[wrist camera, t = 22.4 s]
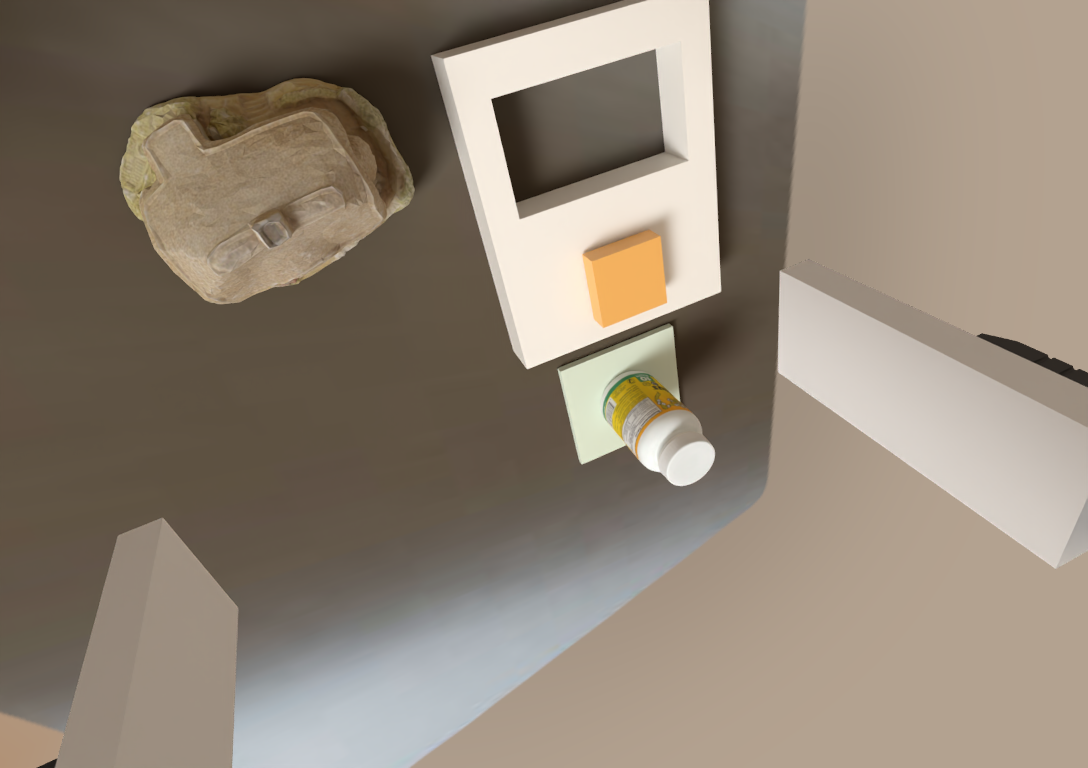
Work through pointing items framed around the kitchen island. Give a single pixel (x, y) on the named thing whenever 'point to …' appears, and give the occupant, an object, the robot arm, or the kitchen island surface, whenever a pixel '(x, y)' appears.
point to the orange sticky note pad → (625, 278)
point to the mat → (595, 374)
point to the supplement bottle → (657, 427)
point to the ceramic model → (261, 183)
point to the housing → (600, 201)
